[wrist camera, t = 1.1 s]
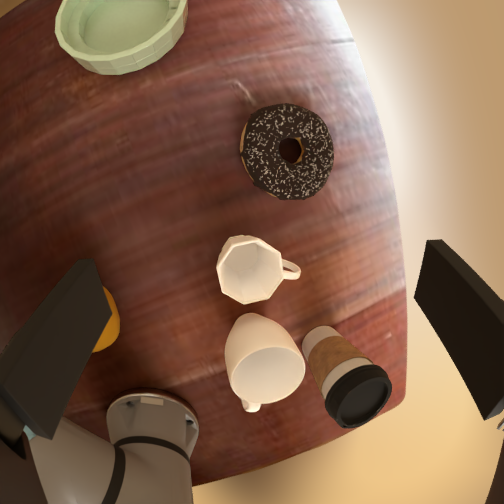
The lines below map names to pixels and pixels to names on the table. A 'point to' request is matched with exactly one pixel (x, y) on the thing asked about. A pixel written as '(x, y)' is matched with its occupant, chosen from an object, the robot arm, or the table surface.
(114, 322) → the apple
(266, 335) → the mug
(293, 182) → the donut
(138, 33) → the serving bowl
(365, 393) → the coffee cup
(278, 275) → the cup
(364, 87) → the table surface
